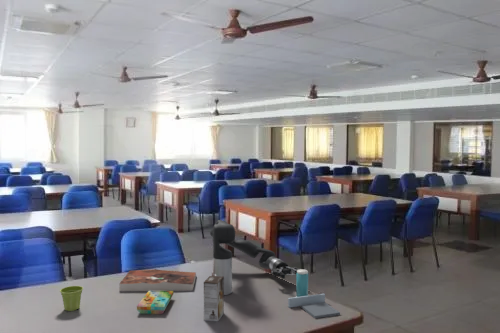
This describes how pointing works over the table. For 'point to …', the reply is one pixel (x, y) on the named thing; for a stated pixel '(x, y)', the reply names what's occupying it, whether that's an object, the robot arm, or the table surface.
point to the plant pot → (71, 297)
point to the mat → (320, 310)
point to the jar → (302, 283)
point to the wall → (306, 300)
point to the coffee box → (213, 298)
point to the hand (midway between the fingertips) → (292, 275)
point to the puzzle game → (154, 302)
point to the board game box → (157, 280)
